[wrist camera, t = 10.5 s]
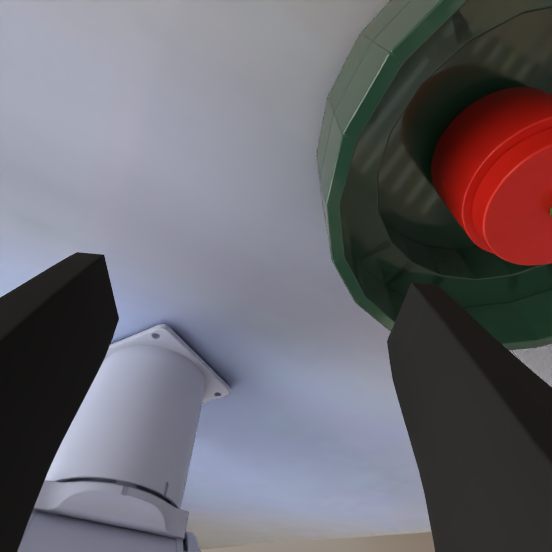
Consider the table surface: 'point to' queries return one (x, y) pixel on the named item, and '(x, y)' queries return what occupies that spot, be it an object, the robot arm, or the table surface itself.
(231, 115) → the table surface
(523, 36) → the green round bowl
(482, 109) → the pepper
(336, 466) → the table surface
